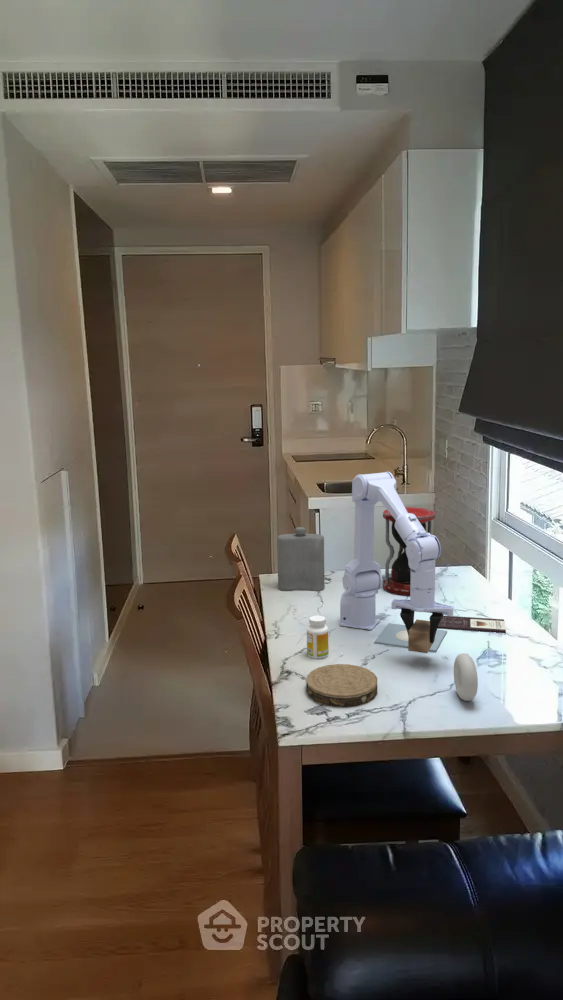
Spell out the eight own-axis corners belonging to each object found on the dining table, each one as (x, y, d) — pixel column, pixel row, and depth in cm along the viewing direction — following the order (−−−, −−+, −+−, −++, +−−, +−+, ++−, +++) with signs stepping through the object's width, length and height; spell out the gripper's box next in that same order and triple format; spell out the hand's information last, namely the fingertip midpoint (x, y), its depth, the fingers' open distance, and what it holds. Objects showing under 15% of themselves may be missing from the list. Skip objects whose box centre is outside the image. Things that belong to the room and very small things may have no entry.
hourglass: (375, 582, 233) (375, 508, 228) (420, 578, 237) (421, 505, 232) (394, 598, 218) (394, 519, 213) (442, 593, 222) (444, 515, 217)
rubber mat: (374, 643, 184) (374, 641, 184) (388, 624, 197) (388, 622, 197) (435, 652, 178) (435, 650, 178) (446, 632, 190) (447, 630, 190)
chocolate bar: (437, 615, 202) (504, 619, 197) (437, 618, 202) (503, 622, 197) (436, 626, 193) (505, 631, 189) (436, 629, 193) (505, 634, 189)
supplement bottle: (331, 651, 180) (330, 615, 178) (325, 660, 175) (324, 623, 173) (310, 649, 181) (310, 613, 179) (304, 657, 176) (303, 620, 174)
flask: (324, 585, 232) (323, 526, 228) (324, 591, 226) (323, 530, 222) (279, 585, 233) (277, 526, 229) (277, 591, 227) (276, 530, 223)
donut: (451, 688, 158) (452, 646, 157) (466, 687, 158) (467, 645, 157) (462, 709, 149) (464, 665, 147) (479, 709, 149) (480, 664, 147)
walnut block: (408, 650, 169) (408, 630, 168) (416, 638, 176) (416, 619, 175) (427, 653, 167) (427, 633, 166) (434, 640, 174) (434, 621, 173)
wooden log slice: (292, 689, 160) (291, 677, 160) (343, 669, 170) (343, 658, 169) (339, 716, 148) (339, 703, 147) (392, 693, 157) (392, 680, 157)
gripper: (388, 587, 168) (387, 641, 171) (450, 595, 162) (448, 650, 165) (396, 579, 174) (395, 631, 177) (455, 585, 168) (454, 639, 171)
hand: (421, 640), depth 171 cm, fingers closed on walnut block, 4 cm apart
